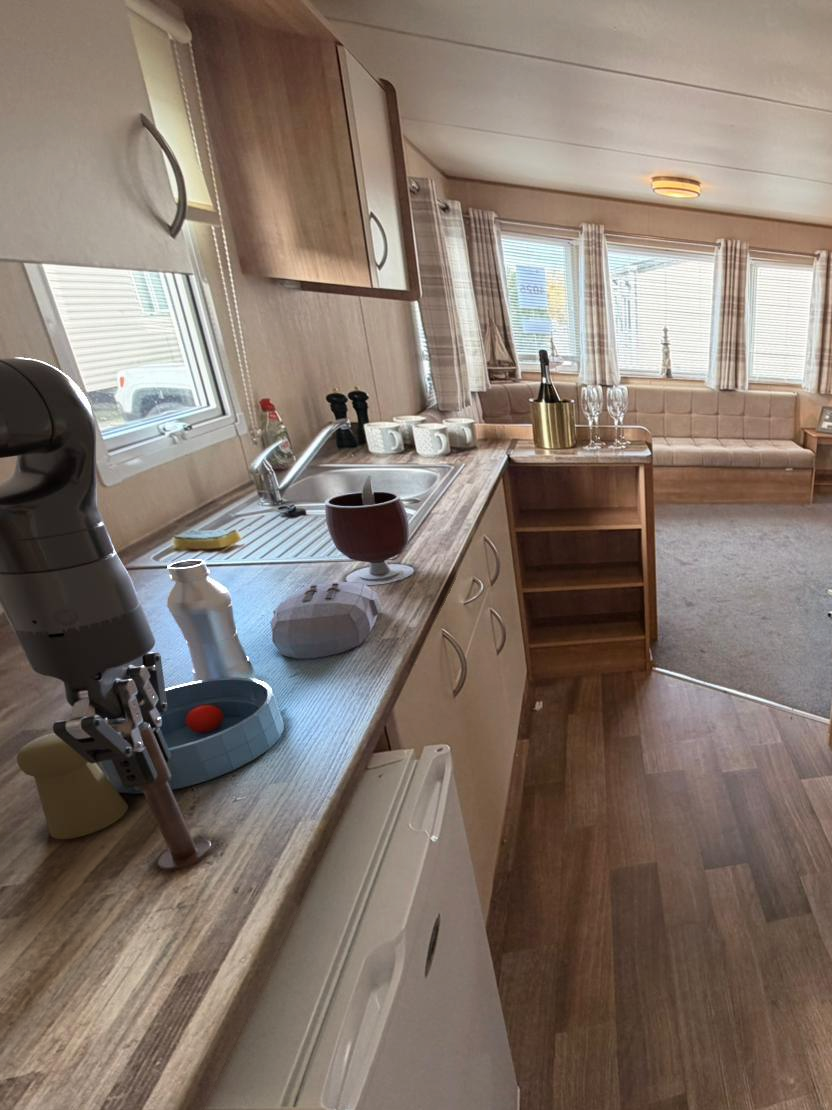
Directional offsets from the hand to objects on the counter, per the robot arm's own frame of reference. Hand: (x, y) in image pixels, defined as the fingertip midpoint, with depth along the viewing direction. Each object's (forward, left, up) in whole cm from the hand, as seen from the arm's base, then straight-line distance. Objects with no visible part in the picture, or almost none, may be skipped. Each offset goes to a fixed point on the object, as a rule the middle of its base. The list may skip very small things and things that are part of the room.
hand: (149, 772), depth 61 cm
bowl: (-5, +21, -11) cm, 24 cm away
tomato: (-5, +25, -8) cm, 27 cm away
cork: (-11, +10, -11) cm, 19 cm away
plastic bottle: (-6, +37, -11) cm, 39 cm away
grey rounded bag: (+4, +53, -11) cm, 54 cm away
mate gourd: (+8, +82, -11) cm, 83 cm away
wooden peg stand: (0, 0, -11) cm, 11 cm away
